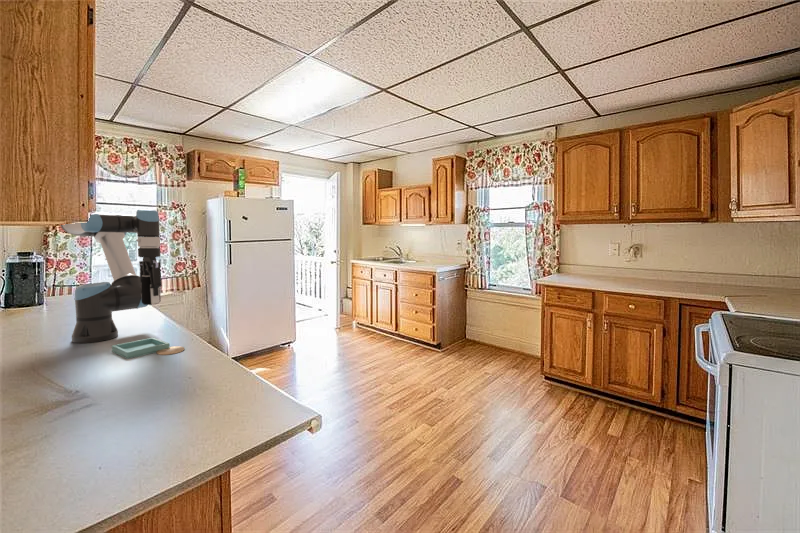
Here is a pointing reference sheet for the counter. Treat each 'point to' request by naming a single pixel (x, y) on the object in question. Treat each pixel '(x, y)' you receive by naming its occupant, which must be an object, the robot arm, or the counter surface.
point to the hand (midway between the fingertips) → (151, 302)
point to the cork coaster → (170, 350)
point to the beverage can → (146, 290)
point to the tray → (139, 347)
